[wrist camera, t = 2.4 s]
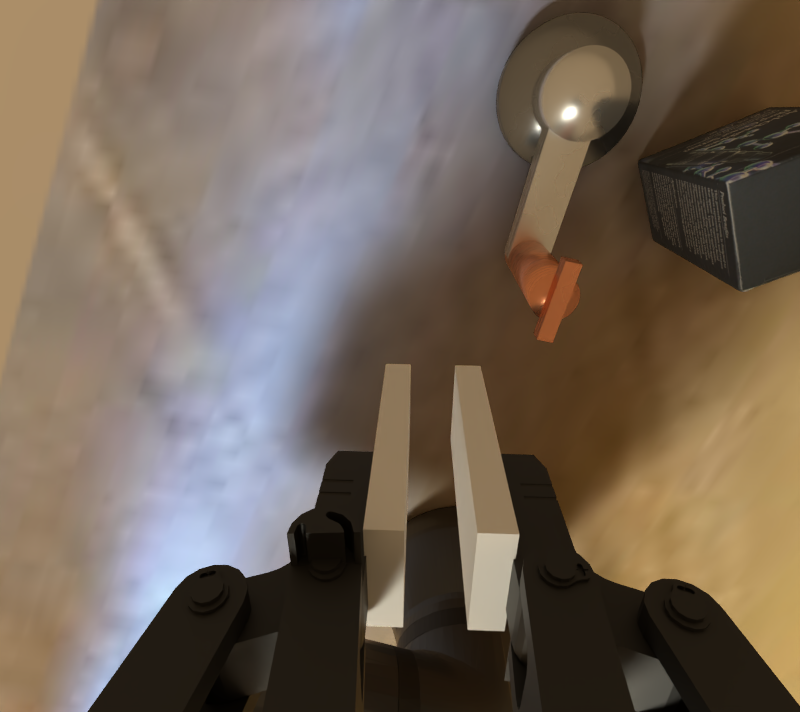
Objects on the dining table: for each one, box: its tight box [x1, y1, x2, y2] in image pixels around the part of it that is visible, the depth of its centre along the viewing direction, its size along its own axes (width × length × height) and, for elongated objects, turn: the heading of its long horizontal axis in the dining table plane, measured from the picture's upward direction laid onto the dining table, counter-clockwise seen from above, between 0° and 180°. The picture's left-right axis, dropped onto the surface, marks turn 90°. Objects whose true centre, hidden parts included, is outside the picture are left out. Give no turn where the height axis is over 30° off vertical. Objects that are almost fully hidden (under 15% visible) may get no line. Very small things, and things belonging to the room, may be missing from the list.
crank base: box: [496, 13, 642, 167], centre depth 29 cm, size 8×8×1 cm
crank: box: [504, 45, 631, 343], centre depth 26 cm, size 13×4×10 cm, turn 168°
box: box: [638, 107, 800, 292], centre depth 26 cm, size 8×6×11 cm
